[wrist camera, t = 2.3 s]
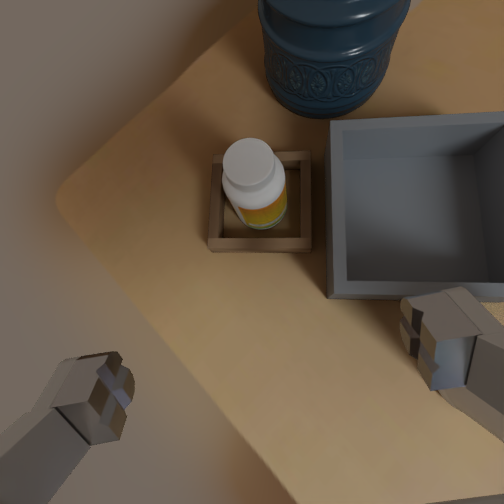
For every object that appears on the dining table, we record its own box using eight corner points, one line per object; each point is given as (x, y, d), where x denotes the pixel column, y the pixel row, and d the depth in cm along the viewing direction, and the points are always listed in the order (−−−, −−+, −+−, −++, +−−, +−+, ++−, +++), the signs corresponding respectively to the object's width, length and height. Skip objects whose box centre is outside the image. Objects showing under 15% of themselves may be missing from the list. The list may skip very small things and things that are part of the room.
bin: (479, 149, 31) (520, 110, 26) (498, 302, 28) (551, 297, 22) (324, 155, 33) (330, 120, 28) (326, 298, 30) (334, 293, 25)
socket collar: (309, 160, 34) (310, 150, 32) (310, 252, 31) (311, 248, 30) (217, 163, 35) (213, 154, 33) (212, 252, 33) (207, 248, 31)
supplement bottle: (298, 202, 33) (299, 155, 23) (263, 241, 32) (250, 208, 23) (259, 172, 34) (246, 116, 25) (226, 209, 34) (199, 166, 24)
